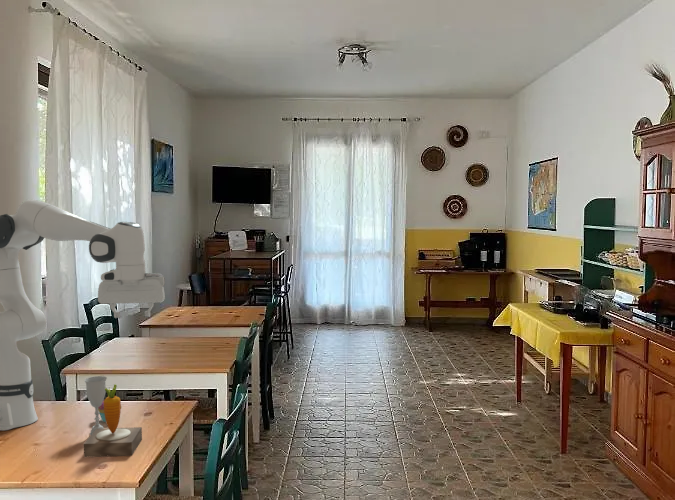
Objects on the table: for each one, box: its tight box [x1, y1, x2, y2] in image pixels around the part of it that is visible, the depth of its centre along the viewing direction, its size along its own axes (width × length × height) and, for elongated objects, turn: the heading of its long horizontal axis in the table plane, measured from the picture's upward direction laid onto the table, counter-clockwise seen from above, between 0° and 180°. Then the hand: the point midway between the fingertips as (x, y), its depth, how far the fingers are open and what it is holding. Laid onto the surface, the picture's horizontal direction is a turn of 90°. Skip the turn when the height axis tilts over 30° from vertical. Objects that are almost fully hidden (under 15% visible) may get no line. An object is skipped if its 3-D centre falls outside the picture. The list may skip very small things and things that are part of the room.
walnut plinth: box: [83, 426, 143, 458], centre depth 213 cm, size 14×14×4 cm
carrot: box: [104, 383, 122, 434], centre depth 213 cm, size 5×5×15 cm
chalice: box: [83, 375, 108, 436], centre depth 227 cm, size 7×7×18 cm
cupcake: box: [98, 387, 111, 423], centre depth 241 cm, size 9×8×12 cm
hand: (132, 317), depth 219 cm, fingers open, 8 cm apart
